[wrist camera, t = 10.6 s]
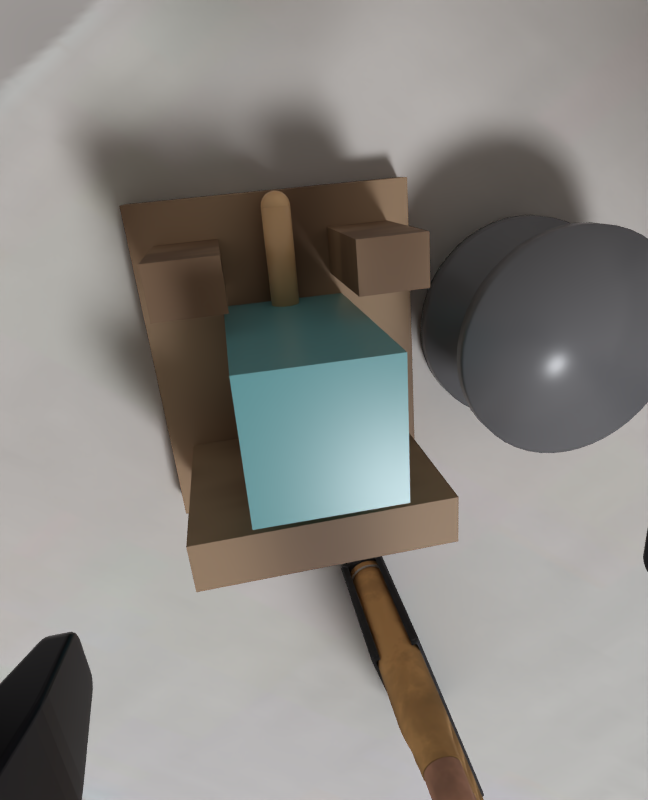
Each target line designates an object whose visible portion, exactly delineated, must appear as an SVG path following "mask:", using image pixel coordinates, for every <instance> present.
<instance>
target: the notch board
mask: <svg viewBox="0 0 648 800" xmlns="http://www.w3.org/2000/svg"><path fill="white" fill-rule="evenodd" d="M270 191H280V192H282V193H284V194H285V195H286V196H287V198H288V199H289V202H290V209H291V219H292V230H293V240H294V251H295V262H296V272H297V283H298V293H299V298H302V297H311V296H320V295H328V294H337V293H342V294H343V295H344V296H346V297H347V298H348V299H349V300H350V301H351V302H352V303H353V304H354V305H356V306H357V307H358V308H359V309H360V310H361V311H362V312H363V313H364V314H366V315H367V316H368V317H369V318H370V319H371V320H372V321H373V322H374V323H375V324H377V325H378V326H379V327H380V328H381V329H382V330H383V331H384V332H385V333H387V334H388V335H389V336H390V337H391V338H392V339H393V340H394V341H395V342H396V343H398V344H399V345H400V346H401V347H402V348H403V349H404V350H405V351H406V352H407V364H408V413H409V463H410V503H406V504H400V505H395V506H389V507H383V508H377V509H371V510H366V511H360V512H354V513H348V514H343V515H337V516H331V517H325V518H319V519H314V520H308V521H302V522H296V523H291V524H285V525H279V526H273V527H267V528H262V529H256V530H253V529H252V523H251V516H250V510H249V503H248V496H247V490H246V483H245V477H244V470H243V463H242V457H241V450H240V443H239V437H238V430H237V424H236V417H235V410H234V404H233V397H232V391H231V384H230V377H229V367H228V355H227V343H226V331H225V320H224V314H229V310H228V306H233V305H242V304H251V303H259V302H268V301H271V294H270V285H269V276H268V267H267V259H266V250H265V241H264V232H263V223H262V215H261V201H262V198H263V197H264V195H265V194H266V193H268V192H270ZM120 211H121V215H122V220H123V224H124V229H125V234H126V238H127V243H128V247H129V252H130V257H131V261H132V266H133V270H134V275H135V280H136V284H137V289H138V293H139V298H140V303H141V307H142V312H143V316H144V321H145V326H146V330H147V335H148V340H149V344H150V349H151V353H152V358H153V363H154V367H155V372H156V376H157V381H158V386H159V390H160V395H161V399H162V404H163V409H164V413H165V418H166V422H167V427H168V432H169V436H170V441H171V445H172V450H173V455H174V459H175V464H176V469H177V473H178V478H179V482H180V487H181V492H182V496H183V501H184V505H185V510H186V514H187V513H189V517H188V532H187V546H186V547H187V552H188V556H189V561H190V565H191V570H192V574H193V579H194V583H195V588H196V592H200V591H205V590H210V589H215V588H220V587H225V586H231V585H236V584H241V583H246V582H251V581H256V580H261V579H267V578H272V577H277V576H282V575H287V574H292V573H297V572H303V571H308V570H313V569H318V568H323V567H328V566H333V565H338V564H344V563H349V562H354V561H359V560H364V559H369V558H374V557H380V556H385V555H390V554H395V553H400V552H405V551H410V550H416V549H421V548H426V547H431V546H436V545H441V544H446V543H452V542H457V541H458V496H457V495H456V493H455V492H454V491H453V489H452V488H451V487H450V485H449V484H448V483H447V482H446V480H445V479H444V478H443V476H442V475H441V474H440V472H439V471H438V470H437V468H436V467H435V466H434V465H433V463H432V462H431V461H430V459H429V458H428V457H427V455H426V454H425V453H424V452H423V450H422V449H421V448H420V446H419V445H418V444H417V442H416V441H415V440H414V410H413V374H412V338H411V302H410V290H417V289H425V288H430V232H429V231H427V230H423V229H419V228H415V227H411V226H408V193H407V177H395V178H385V179H375V180H365V181H354V182H344V183H334V184H324V185H314V186H304V187H294V188H284V189H274V190H264V191H254V192H244V193H234V194H224V195H214V196H204V197H194V198H184V199H174V200H164V201H154V202H144V203H133V204H124V205H121V206H120Z"/></svg>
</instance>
